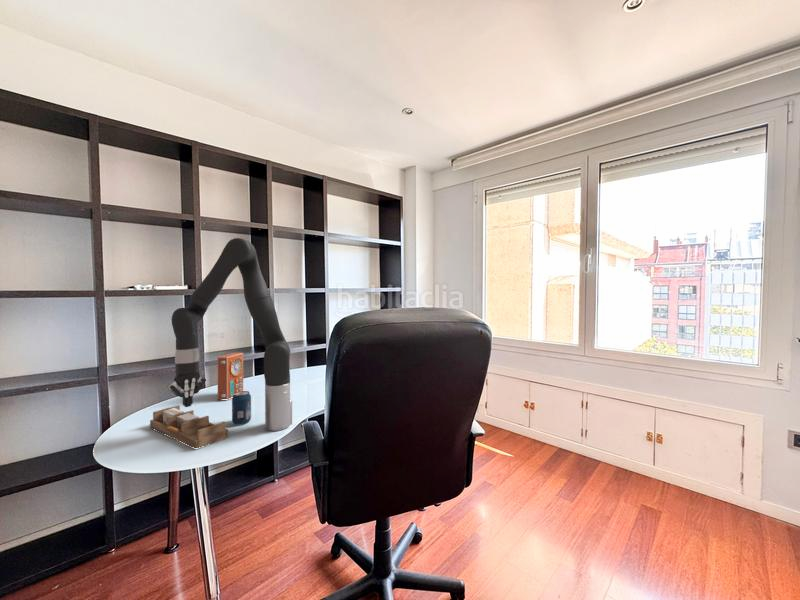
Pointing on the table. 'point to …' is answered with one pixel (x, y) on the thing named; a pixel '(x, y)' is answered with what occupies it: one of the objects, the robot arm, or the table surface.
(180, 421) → the white rectangular block
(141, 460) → the table surface
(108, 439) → the table surface
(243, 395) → the soda can
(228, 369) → the control panel
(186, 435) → the rack
